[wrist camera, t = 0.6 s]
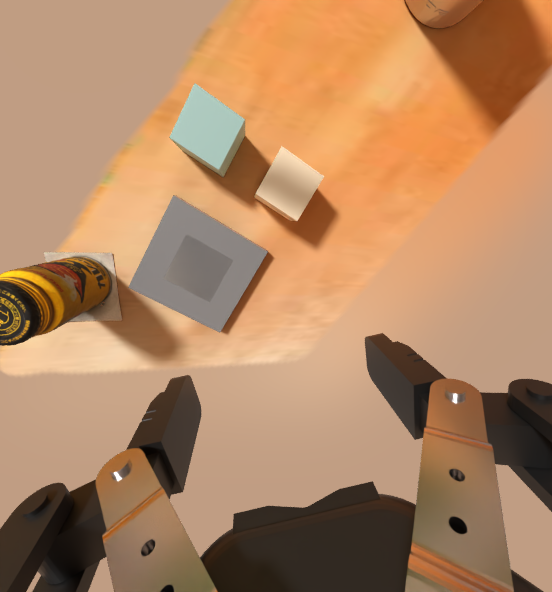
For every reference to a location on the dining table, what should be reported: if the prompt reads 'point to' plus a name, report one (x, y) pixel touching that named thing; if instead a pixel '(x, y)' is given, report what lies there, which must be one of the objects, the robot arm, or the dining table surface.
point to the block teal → (208, 131)
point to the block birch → (288, 185)
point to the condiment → (57, 294)
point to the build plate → (197, 265)
